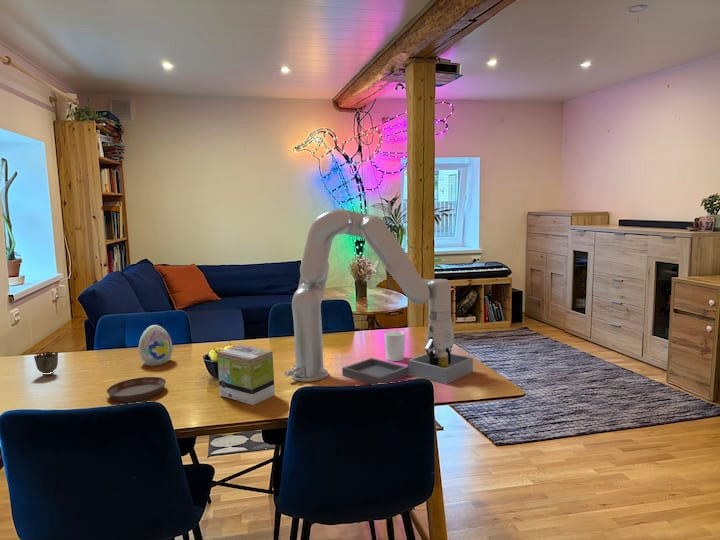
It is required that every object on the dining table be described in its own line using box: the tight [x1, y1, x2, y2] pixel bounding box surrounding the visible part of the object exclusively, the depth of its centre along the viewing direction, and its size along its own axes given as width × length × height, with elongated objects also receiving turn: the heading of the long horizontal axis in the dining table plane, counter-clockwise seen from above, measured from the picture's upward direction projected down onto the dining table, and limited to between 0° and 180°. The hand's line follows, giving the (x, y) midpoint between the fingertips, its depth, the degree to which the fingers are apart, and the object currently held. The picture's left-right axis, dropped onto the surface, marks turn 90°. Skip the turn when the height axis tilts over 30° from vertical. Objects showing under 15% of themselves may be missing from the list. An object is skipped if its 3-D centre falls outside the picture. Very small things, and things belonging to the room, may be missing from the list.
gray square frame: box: [407, 350, 474, 385], centre depth 176 cm, size 16×16×5 cm
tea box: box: [216, 344, 275, 406], centre depth 159 cm, size 15×10×15 cm, turn 56°
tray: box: [341, 357, 409, 385], centre depth 175 cm, size 15×17×3 cm
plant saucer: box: [106, 376, 167, 403], centre depth 165 cm, size 18×18×3 cm
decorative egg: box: [138, 324, 174, 367], centre depth 197 cm, size 12×12×15 cm
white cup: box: [383, 330, 406, 362], centre depth 193 cm, size 8×8×10 cm
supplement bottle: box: [433, 347, 448, 368], centre depth 175 cm, size 5×5×10 cm
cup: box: [33, 351, 59, 377], centre depth 186 cm, size 8×7×8 cm
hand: (440, 365), depth 176 cm, fingers open, 6 cm apart
